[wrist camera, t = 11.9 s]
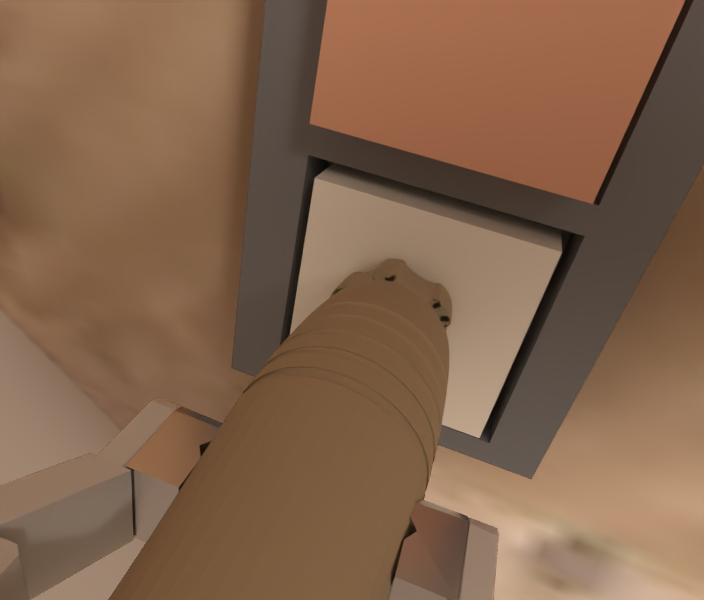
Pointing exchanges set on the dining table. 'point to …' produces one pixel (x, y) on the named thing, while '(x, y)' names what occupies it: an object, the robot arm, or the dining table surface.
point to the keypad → (485, 190)
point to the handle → (314, 457)
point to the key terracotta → (493, 81)
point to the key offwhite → (435, 271)
